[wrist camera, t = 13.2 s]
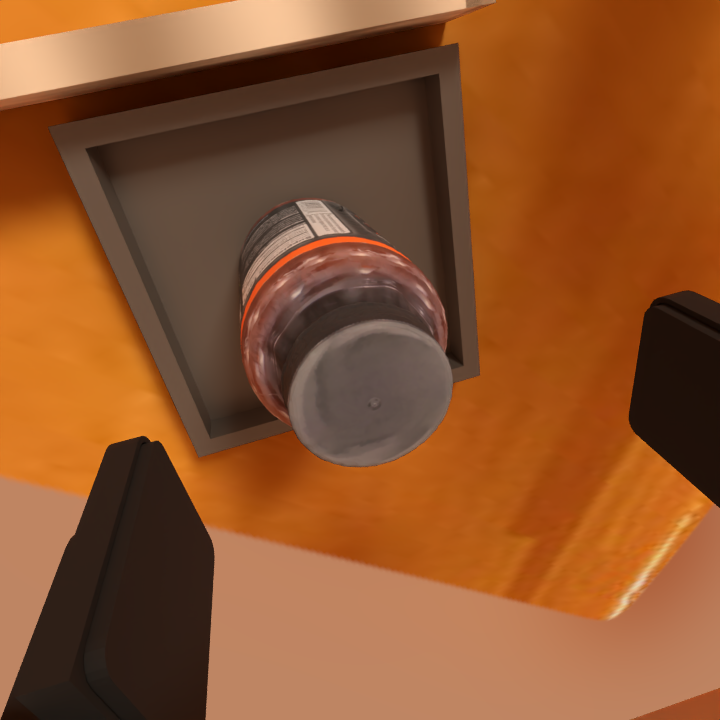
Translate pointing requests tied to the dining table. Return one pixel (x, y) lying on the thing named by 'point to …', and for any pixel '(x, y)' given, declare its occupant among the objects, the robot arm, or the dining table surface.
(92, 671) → the robot arm
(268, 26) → the bay
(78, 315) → the dining table surface
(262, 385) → the supplement bottle
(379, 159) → the tray
